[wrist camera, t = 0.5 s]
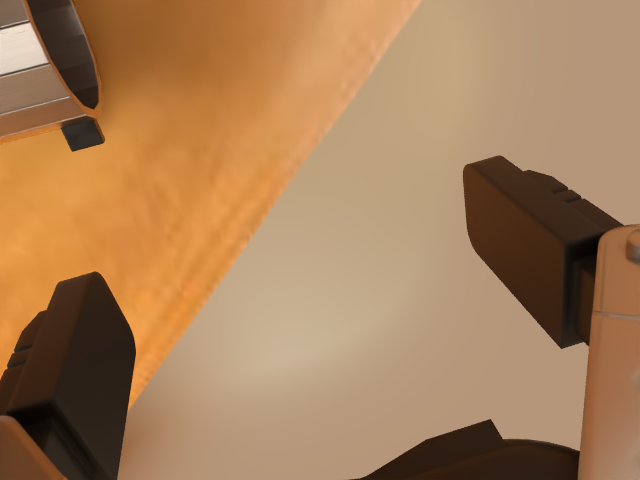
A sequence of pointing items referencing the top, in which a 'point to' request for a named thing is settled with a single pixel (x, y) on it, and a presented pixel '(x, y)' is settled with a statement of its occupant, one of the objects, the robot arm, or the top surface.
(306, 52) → the top surface
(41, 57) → the pot
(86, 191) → the top surface
